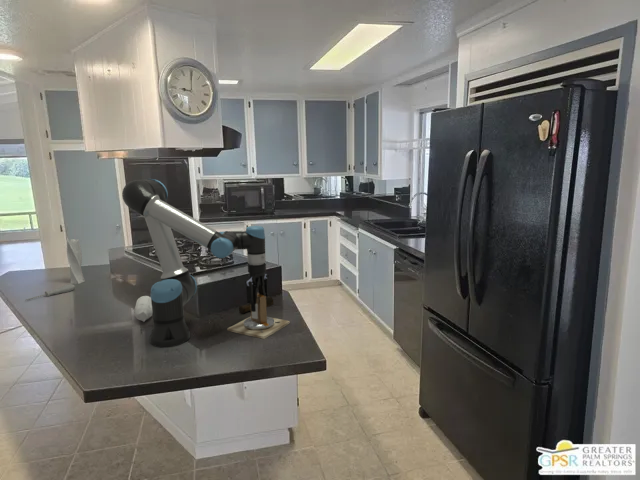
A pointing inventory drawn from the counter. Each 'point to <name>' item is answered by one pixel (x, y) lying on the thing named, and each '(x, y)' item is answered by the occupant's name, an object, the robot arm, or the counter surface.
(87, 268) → the counter surface
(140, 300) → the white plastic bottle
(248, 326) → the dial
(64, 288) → the screwdriver
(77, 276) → the skyscraper
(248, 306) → the hand tool
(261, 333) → the dial plate
